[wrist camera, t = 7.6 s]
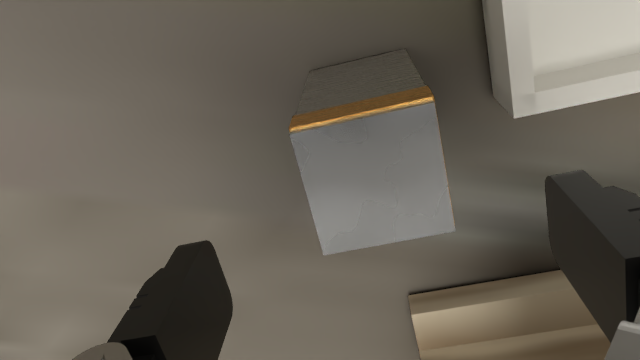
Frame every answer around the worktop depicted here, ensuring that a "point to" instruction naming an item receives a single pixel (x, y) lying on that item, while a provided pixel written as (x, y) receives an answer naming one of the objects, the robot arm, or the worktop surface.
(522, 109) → the tray
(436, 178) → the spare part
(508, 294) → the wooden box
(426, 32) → the worktop surface
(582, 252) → the robot arm
